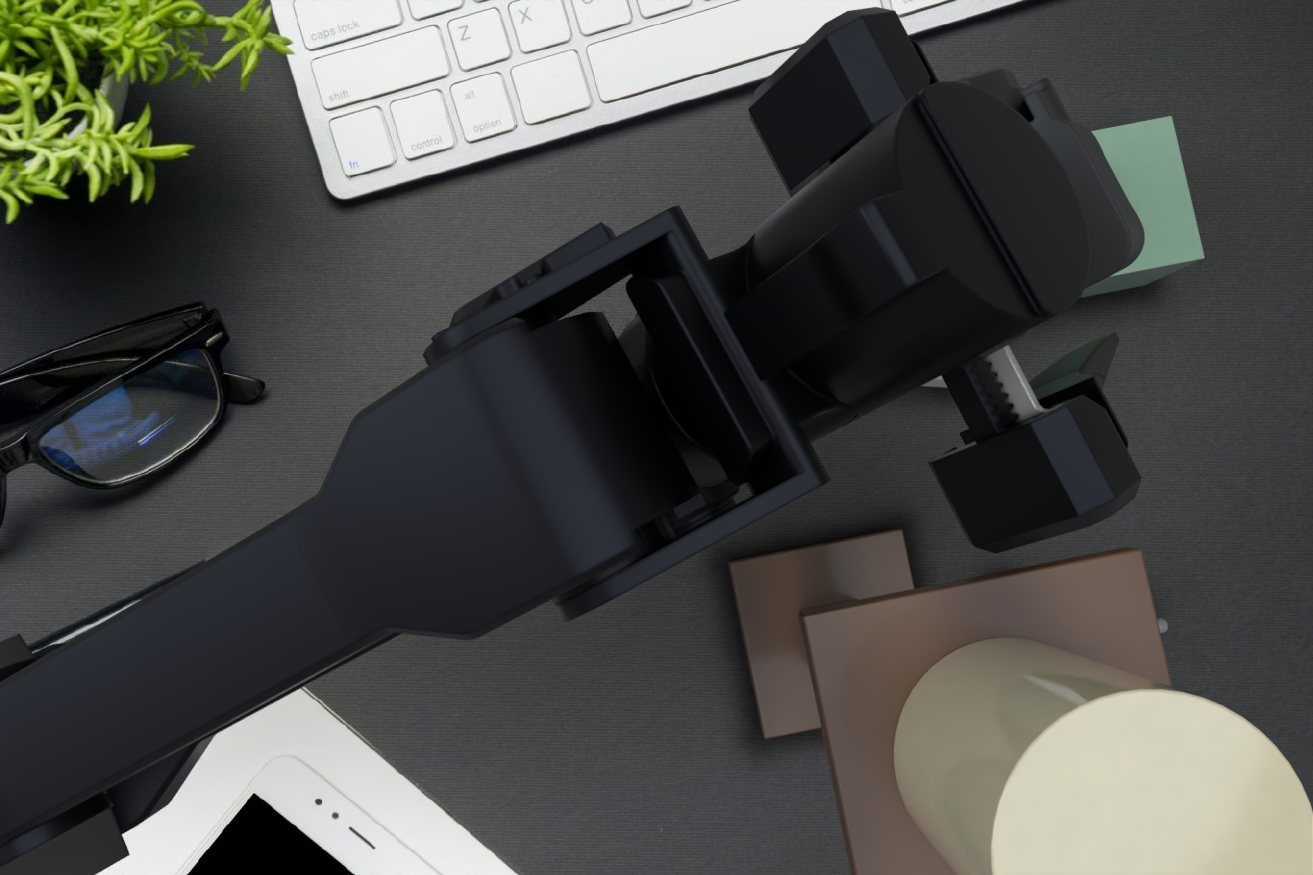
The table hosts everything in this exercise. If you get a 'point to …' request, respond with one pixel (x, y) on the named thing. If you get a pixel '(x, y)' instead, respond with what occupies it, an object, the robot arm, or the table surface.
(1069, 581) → the stand
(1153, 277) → the green rectangular block
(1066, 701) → the cream cylinder
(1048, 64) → the table surface
